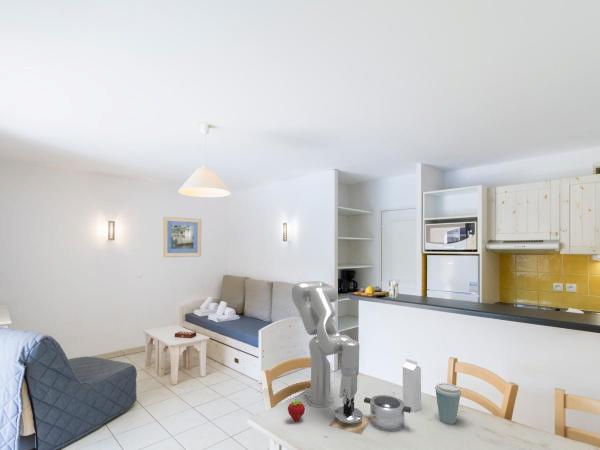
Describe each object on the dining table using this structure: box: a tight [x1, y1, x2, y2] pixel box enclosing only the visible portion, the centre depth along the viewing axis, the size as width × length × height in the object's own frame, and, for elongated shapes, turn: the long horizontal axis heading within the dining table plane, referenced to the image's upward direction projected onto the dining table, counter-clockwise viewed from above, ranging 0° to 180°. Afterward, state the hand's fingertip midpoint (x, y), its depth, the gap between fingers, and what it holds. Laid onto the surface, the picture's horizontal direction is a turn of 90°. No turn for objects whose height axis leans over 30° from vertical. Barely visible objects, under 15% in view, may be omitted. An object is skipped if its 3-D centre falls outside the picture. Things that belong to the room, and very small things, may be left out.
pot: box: [363, 394, 412, 433], centre depth 144 cm, size 20×14×9 cm
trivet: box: [328, 416, 370, 435], centre depth 145 cm, size 14×14×1 cm
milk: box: [402, 358, 422, 413], centre depth 159 cm, size 6×6×22 cm
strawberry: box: [287, 398, 306, 422], centre depth 146 cm, size 6×8×10 cm
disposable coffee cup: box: [434, 382, 462, 425], centre depth 148 cm, size 11×11×15 cm
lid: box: [334, 400, 364, 424], centre depth 146 cm, size 12×12×6 cm
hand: (348, 412), depth 146 cm, fingers closed on lid, 3 cm apart
